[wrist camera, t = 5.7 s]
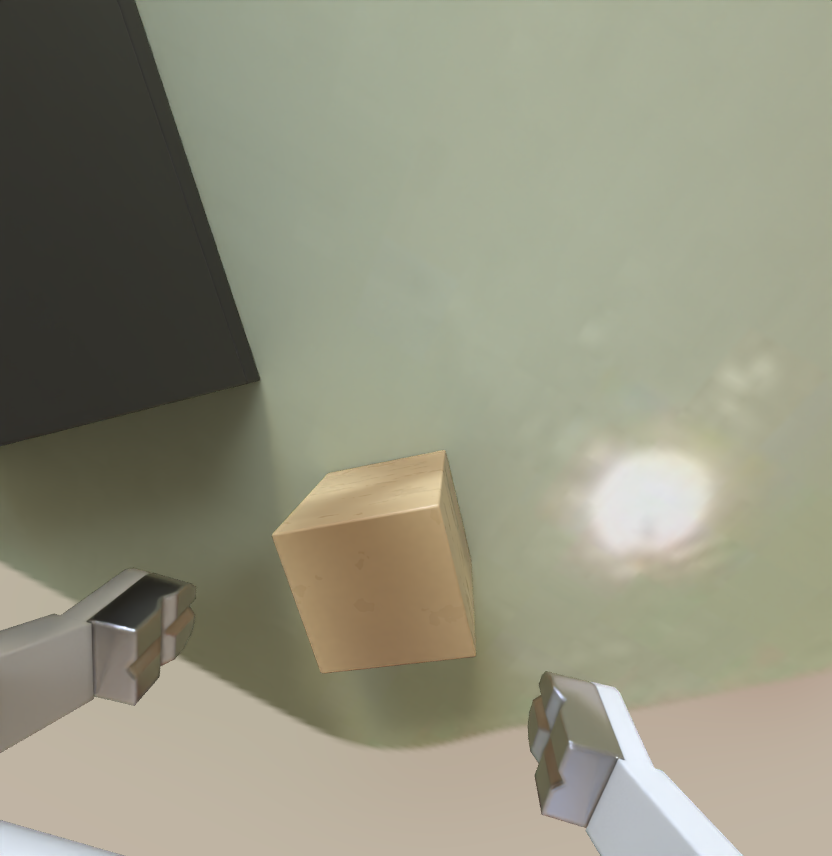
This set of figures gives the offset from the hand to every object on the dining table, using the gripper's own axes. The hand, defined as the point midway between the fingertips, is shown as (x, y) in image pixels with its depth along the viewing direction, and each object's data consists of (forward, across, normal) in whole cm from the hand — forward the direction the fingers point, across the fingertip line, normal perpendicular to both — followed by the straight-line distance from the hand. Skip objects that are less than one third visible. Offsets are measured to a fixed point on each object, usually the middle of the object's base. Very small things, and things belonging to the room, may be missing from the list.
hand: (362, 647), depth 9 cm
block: (+6, 0, 0) cm, 6 cm away
